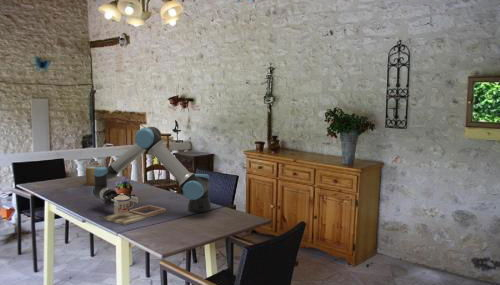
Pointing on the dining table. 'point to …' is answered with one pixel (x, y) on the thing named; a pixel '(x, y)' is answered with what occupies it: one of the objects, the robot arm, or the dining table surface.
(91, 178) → the milk carton
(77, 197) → the dining table surface
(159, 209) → the wooden picture frame
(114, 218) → the ash board
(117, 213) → the teacup with lid
